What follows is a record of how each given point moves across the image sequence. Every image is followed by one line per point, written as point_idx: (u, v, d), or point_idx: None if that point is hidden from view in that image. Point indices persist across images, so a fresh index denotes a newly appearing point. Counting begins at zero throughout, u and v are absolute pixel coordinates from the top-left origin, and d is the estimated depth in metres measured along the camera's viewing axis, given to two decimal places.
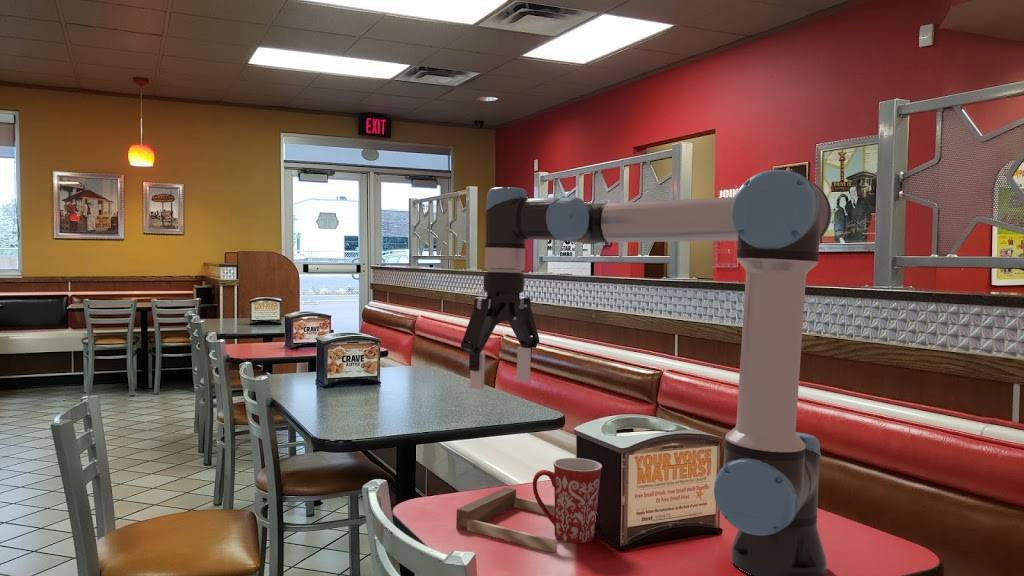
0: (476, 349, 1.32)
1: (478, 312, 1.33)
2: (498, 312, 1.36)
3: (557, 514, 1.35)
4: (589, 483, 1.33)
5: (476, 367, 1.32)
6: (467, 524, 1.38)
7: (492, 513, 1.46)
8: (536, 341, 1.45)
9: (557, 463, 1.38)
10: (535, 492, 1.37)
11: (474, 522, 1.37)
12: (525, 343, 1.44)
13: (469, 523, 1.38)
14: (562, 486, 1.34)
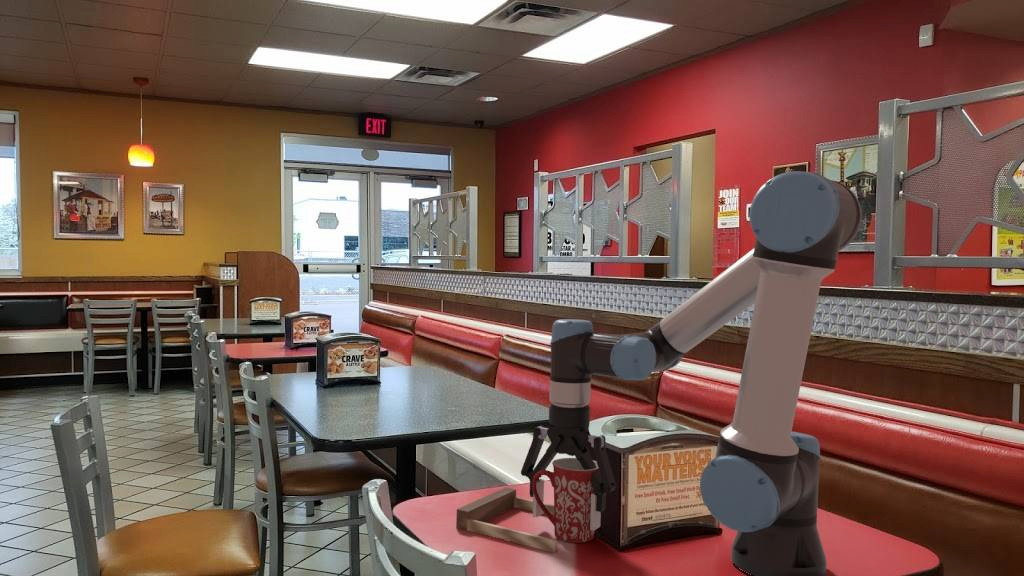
0: None
1: None
2: (551, 444, 1.37)
3: (557, 514, 1.35)
4: (589, 482, 1.33)
5: (531, 493, 1.40)
6: (467, 524, 1.38)
7: (492, 513, 1.46)
8: (605, 489, 1.32)
9: (556, 463, 1.38)
10: (534, 492, 1.37)
11: (474, 522, 1.37)
12: None
13: (469, 523, 1.38)
14: (561, 486, 1.34)
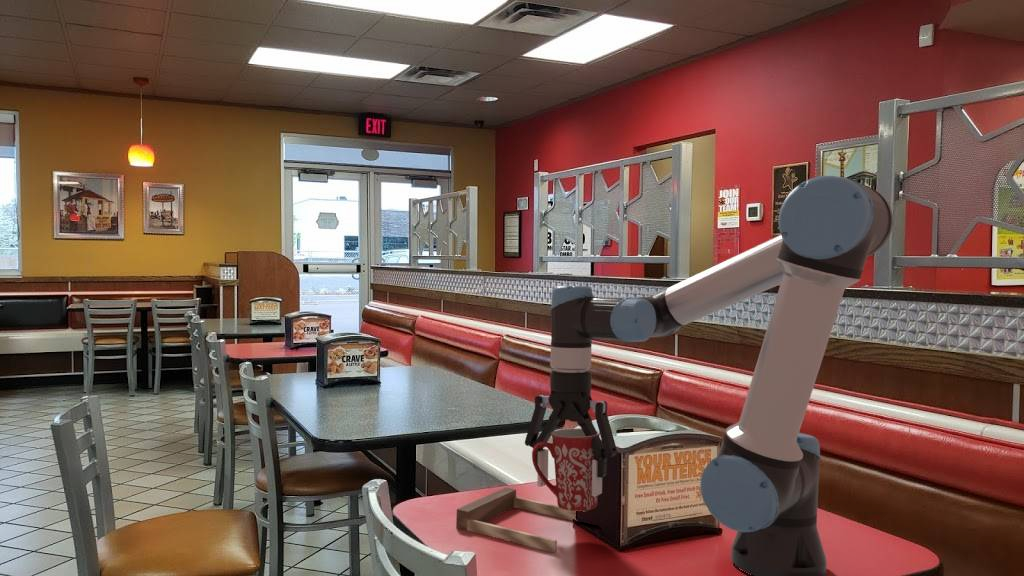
0: (533, 446, 1.39)
1: None
2: (553, 411, 1.37)
3: (559, 484, 1.34)
4: (589, 449, 1.33)
5: None
6: (467, 524, 1.38)
7: (492, 513, 1.46)
8: (606, 454, 1.31)
9: (555, 434, 1.38)
10: (535, 464, 1.36)
11: (474, 522, 1.37)
12: None
13: (469, 523, 1.38)
14: (562, 455, 1.33)
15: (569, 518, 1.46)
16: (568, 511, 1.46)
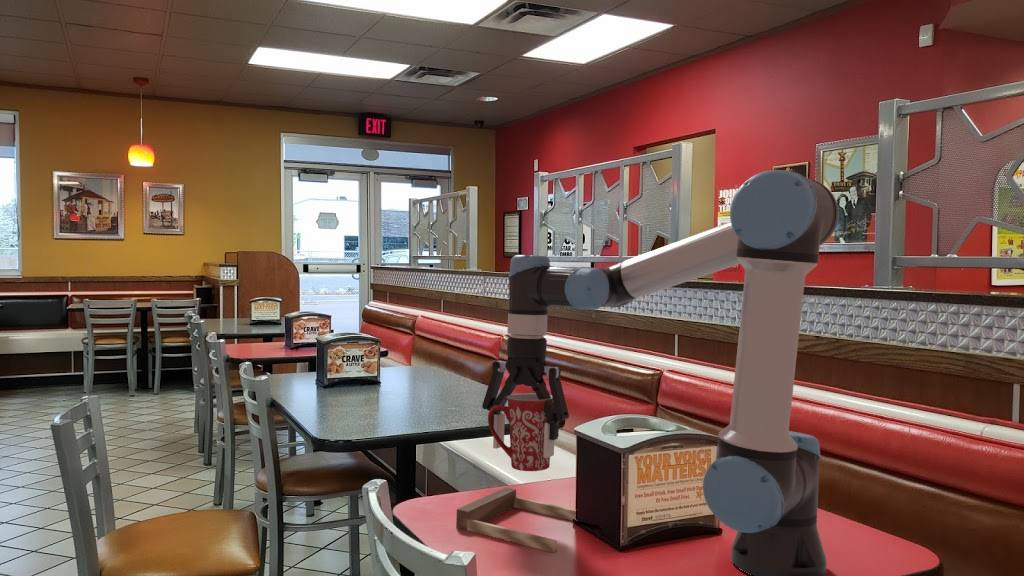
0: None
1: None
2: (509, 376, 1.42)
3: (513, 445, 1.40)
4: (542, 412, 1.38)
5: None
6: (467, 524, 1.38)
7: (492, 513, 1.46)
8: (558, 418, 1.37)
9: (510, 398, 1.43)
10: (490, 426, 1.41)
11: (474, 522, 1.37)
12: None
13: (469, 523, 1.38)
14: (516, 417, 1.38)
15: (569, 518, 1.46)
16: (568, 511, 1.46)
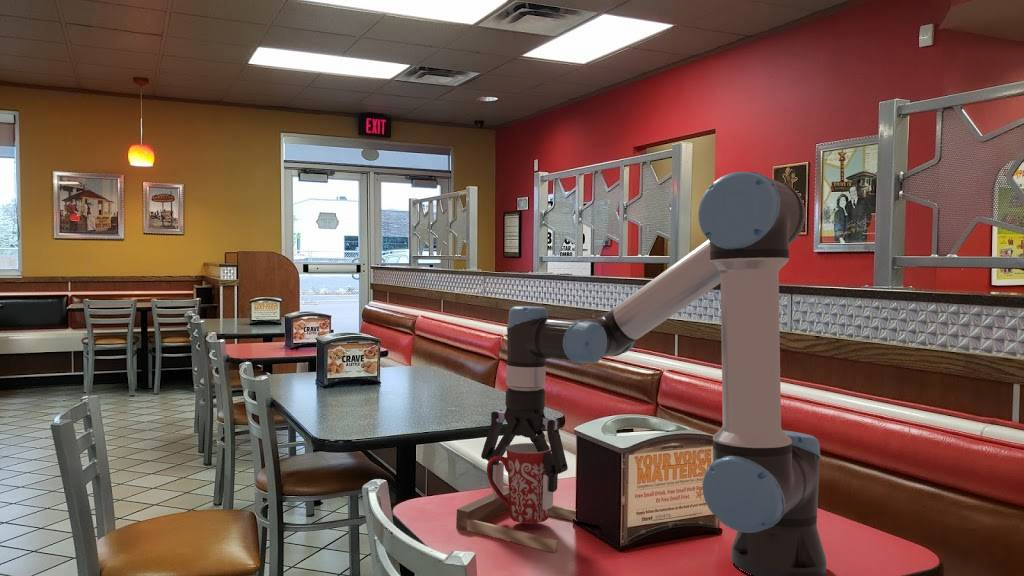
0: (489, 459, 1.45)
1: None
2: (508, 426, 1.42)
3: (512, 497, 1.40)
4: (541, 464, 1.38)
5: None
6: (467, 524, 1.38)
7: (492, 513, 1.46)
8: (556, 470, 1.37)
9: (509, 448, 1.43)
10: (489, 477, 1.41)
11: (474, 522, 1.37)
12: None
13: (469, 523, 1.38)
14: (515, 469, 1.39)
15: (569, 518, 1.46)
16: (568, 511, 1.46)
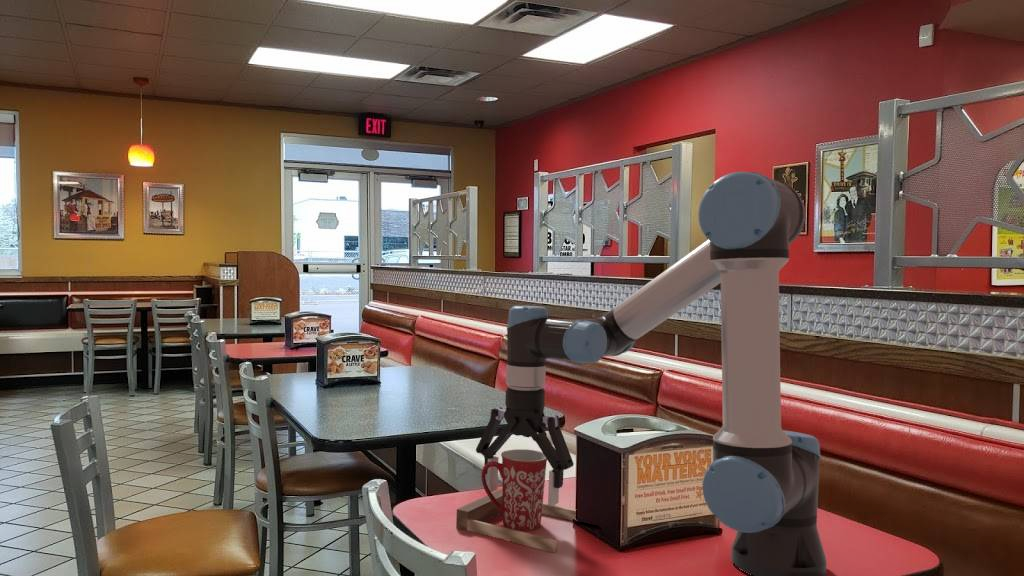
0: (484, 453, 1.45)
1: None
2: (507, 425, 1.42)
3: (505, 503, 1.40)
4: (536, 473, 1.39)
5: None
6: (467, 524, 1.38)
7: (492, 513, 1.46)
8: (562, 466, 1.36)
9: (505, 454, 1.43)
10: (484, 483, 1.41)
11: (474, 522, 1.37)
12: None
13: (469, 523, 1.38)
14: (510, 476, 1.39)
15: (569, 518, 1.46)
16: (568, 511, 1.46)
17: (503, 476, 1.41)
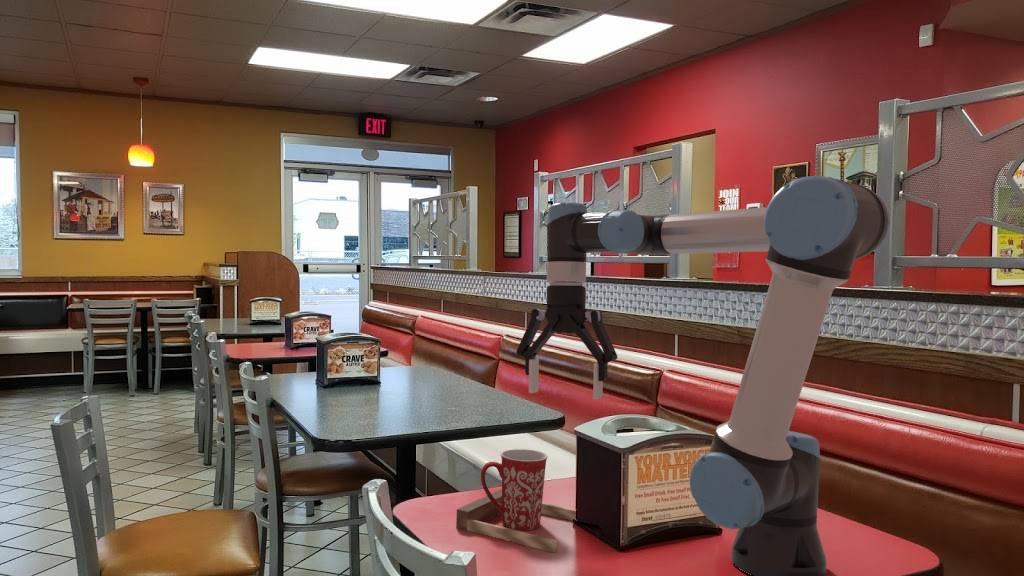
0: (525, 355, 1.46)
1: None
2: (548, 323, 1.43)
3: (505, 503, 1.40)
4: (536, 473, 1.39)
5: (527, 371, 1.46)
6: (467, 524, 1.38)
7: (492, 513, 1.46)
8: (607, 358, 1.37)
9: (504, 455, 1.43)
10: (483, 483, 1.41)
11: (474, 522, 1.37)
12: None
13: (469, 523, 1.38)
14: (510, 476, 1.39)
15: (569, 518, 1.46)
16: (568, 511, 1.46)
17: (503, 476, 1.41)
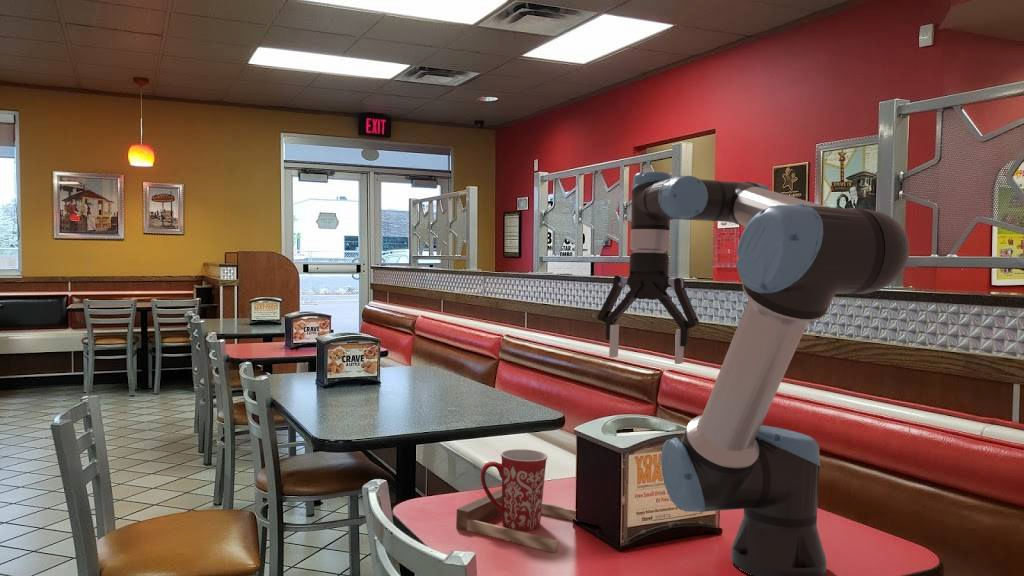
0: (606, 320, 1.50)
1: None
2: (631, 289, 1.46)
3: (505, 503, 1.40)
4: (536, 473, 1.39)
5: (607, 336, 1.50)
6: (467, 524, 1.38)
7: (492, 513, 1.46)
8: (690, 324, 1.40)
9: (504, 454, 1.43)
10: (483, 483, 1.41)
11: (474, 522, 1.37)
12: None
13: (469, 523, 1.38)
14: (510, 476, 1.39)
15: (569, 518, 1.46)
16: (568, 511, 1.46)
17: (503, 476, 1.41)
